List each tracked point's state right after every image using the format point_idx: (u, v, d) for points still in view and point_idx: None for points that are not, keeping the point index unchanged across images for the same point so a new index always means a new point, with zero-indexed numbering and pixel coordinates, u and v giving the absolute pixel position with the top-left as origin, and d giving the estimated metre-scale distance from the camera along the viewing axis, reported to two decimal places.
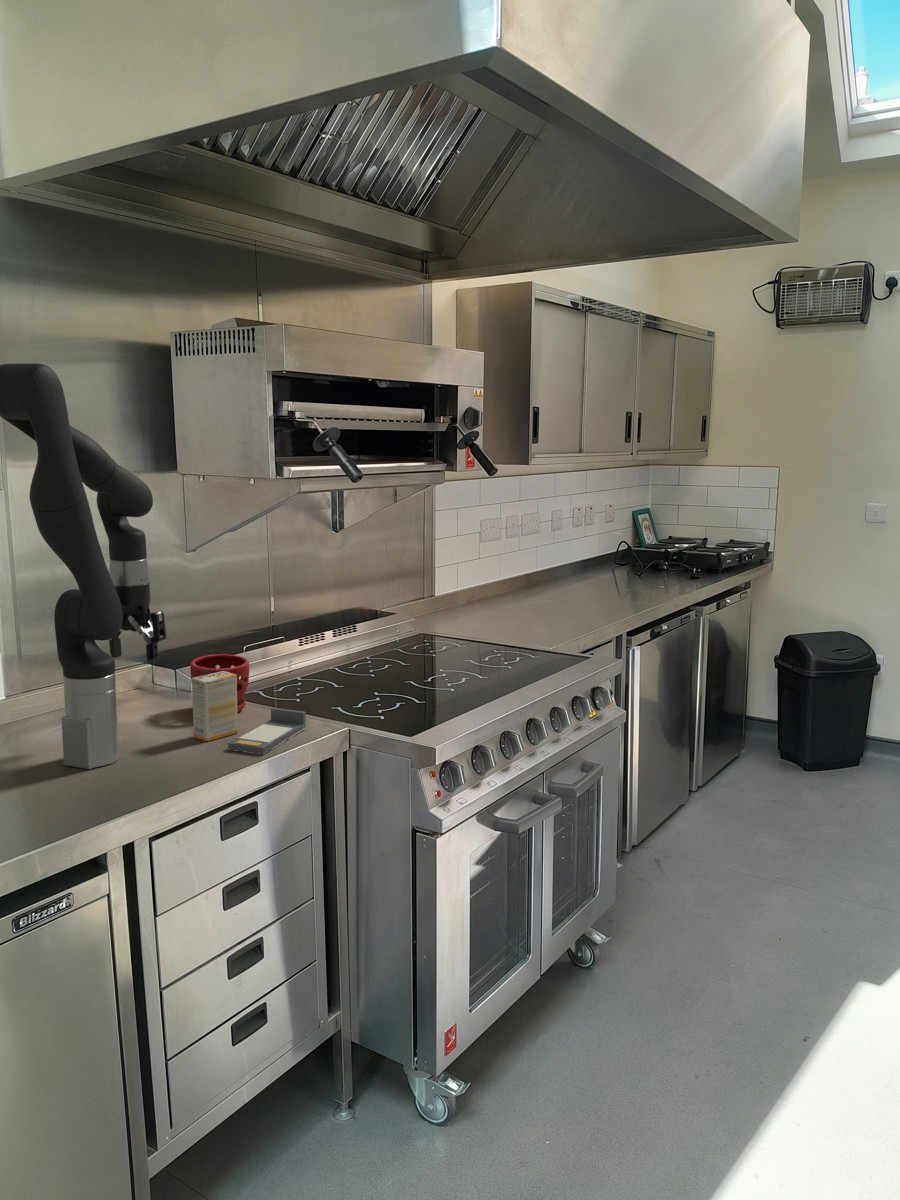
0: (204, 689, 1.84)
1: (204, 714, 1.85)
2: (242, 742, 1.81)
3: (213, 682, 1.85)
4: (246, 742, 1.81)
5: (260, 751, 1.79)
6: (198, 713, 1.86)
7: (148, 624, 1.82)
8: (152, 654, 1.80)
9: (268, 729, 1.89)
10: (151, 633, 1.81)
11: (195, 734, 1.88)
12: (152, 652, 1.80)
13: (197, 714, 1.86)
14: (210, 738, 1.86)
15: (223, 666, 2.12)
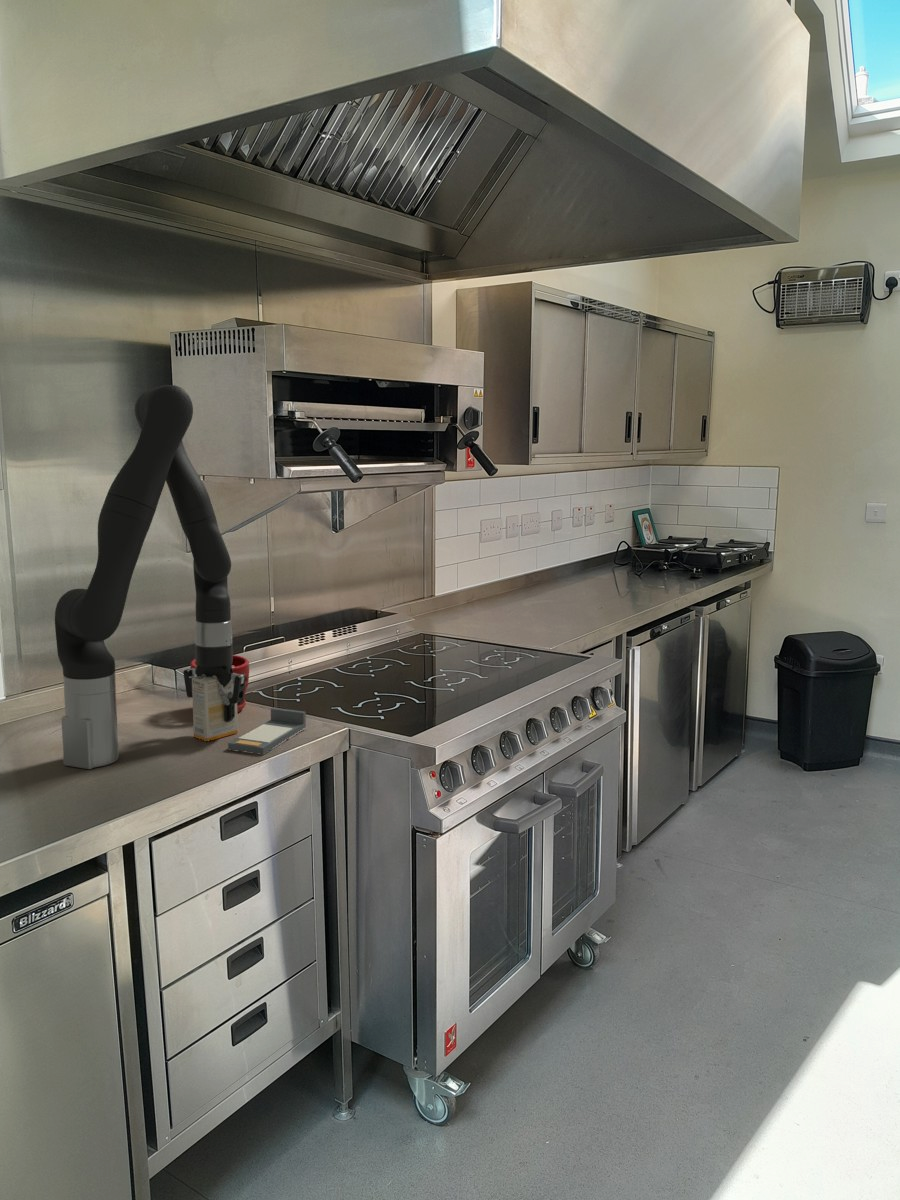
0: (204, 689, 1.84)
1: (204, 714, 1.85)
2: (242, 742, 1.81)
3: (213, 681, 1.85)
4: (246, 742, 1.81)
5: (260, 751, 1.79)
6: (198, 713, 1.86)
7: None
8: (230, 714, 1.87)
9: (268, 729, 1.89)
10: (229, 693, 1.88)
11: (195, 734, 1.88)
12: (230, 713, 1.87)
13: (197, 714, 1.86)
14: (210, 738, 1.86)
15: None
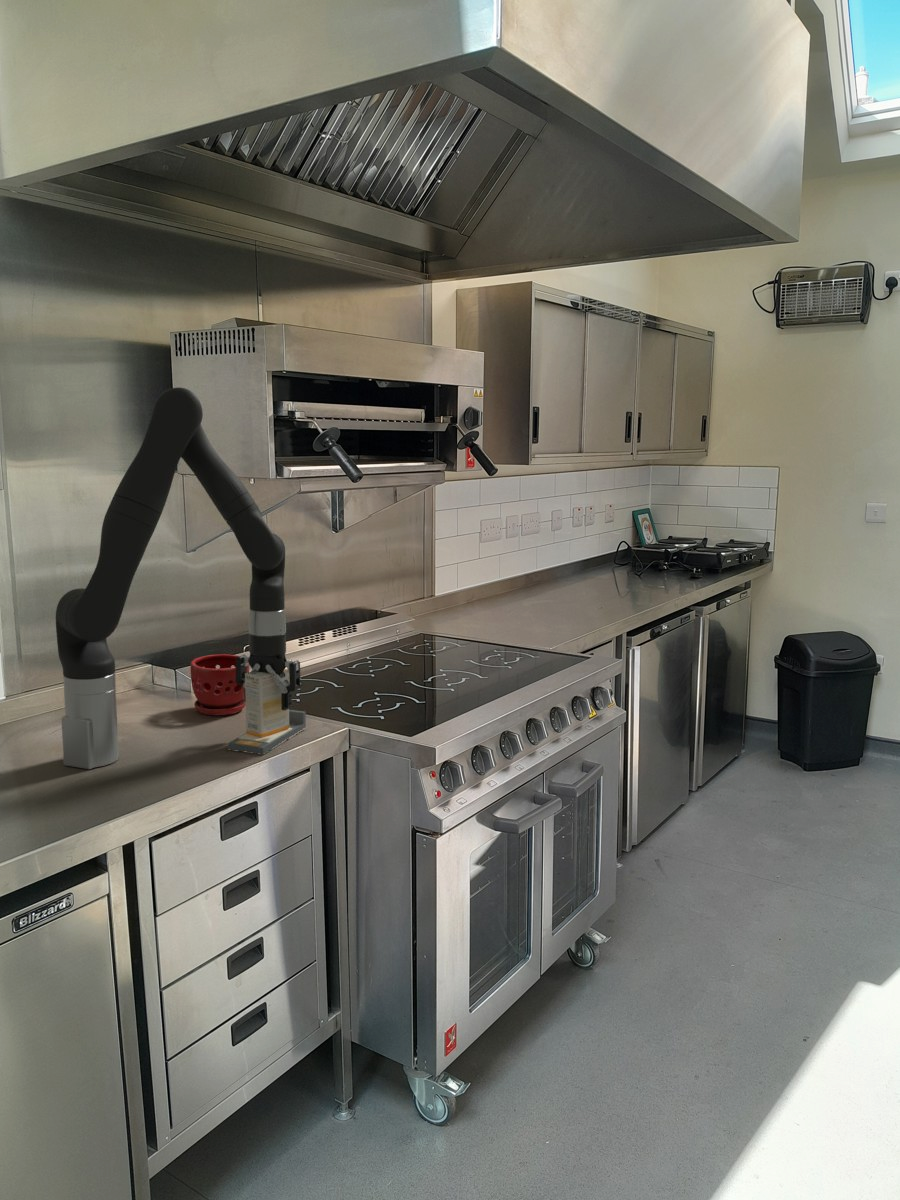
0: (259, 685, 1.82)
1: (259, 710, 1.83)
2: (242, 742, 1.81)
3: (267, 677, 1.83)
4: (246, 742, 1.81)
5: (260, 751, 1.79)
6: (252, 708, 1.84)
7: (283, 673, 1.86)
8: (287, 703, 1.85)
9: None
10: (285, 681, 1.86)
11: (248, 730, 1.86)
12: (287, 701, 1.84)
13: (250, 710, 1.84)
14: (264, 734, 1.84)
15: (223, 666, 2.12)
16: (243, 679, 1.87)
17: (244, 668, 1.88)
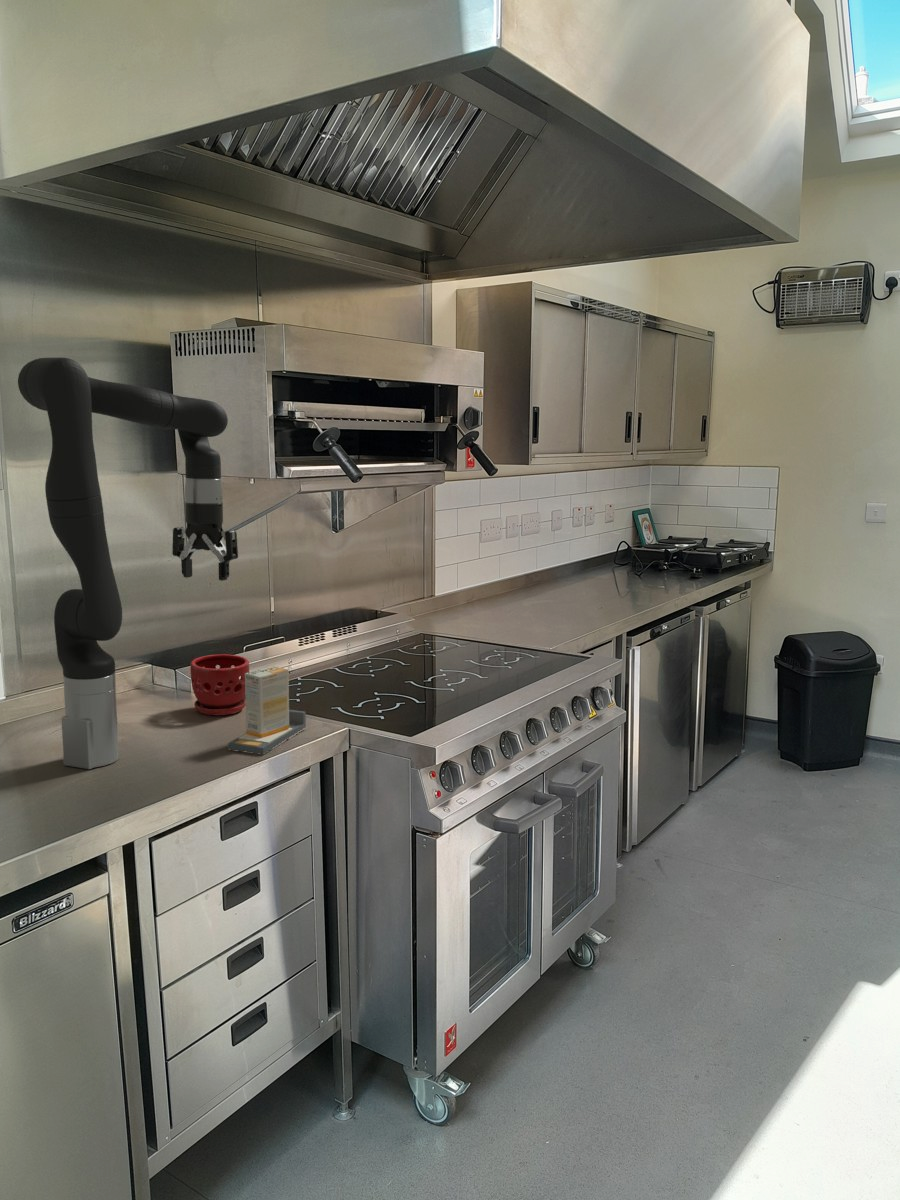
0: (258, 684, 1.82)
1: (259, 710, 1.83)
2: (242, 742, 1.81)
3: (267, 677, 1.83)
4: (246, 742, 1.81)
5: (260, 751, 1.79)
6: (252, 708, 1.84)
7: (220, 544, 1.86)
8: (224, 572, 1.85)
9: None
10: (223, 552, 1.86)
11: (248, 730, 1.86)
12: (224, 570, 1.85)
13: (250, 710, 1.84)
14: (264, 734, 1.84)
15: (223, 666, 2.12)
16: (180, 551, 1.88)
17: (181, 540, 1.88)
